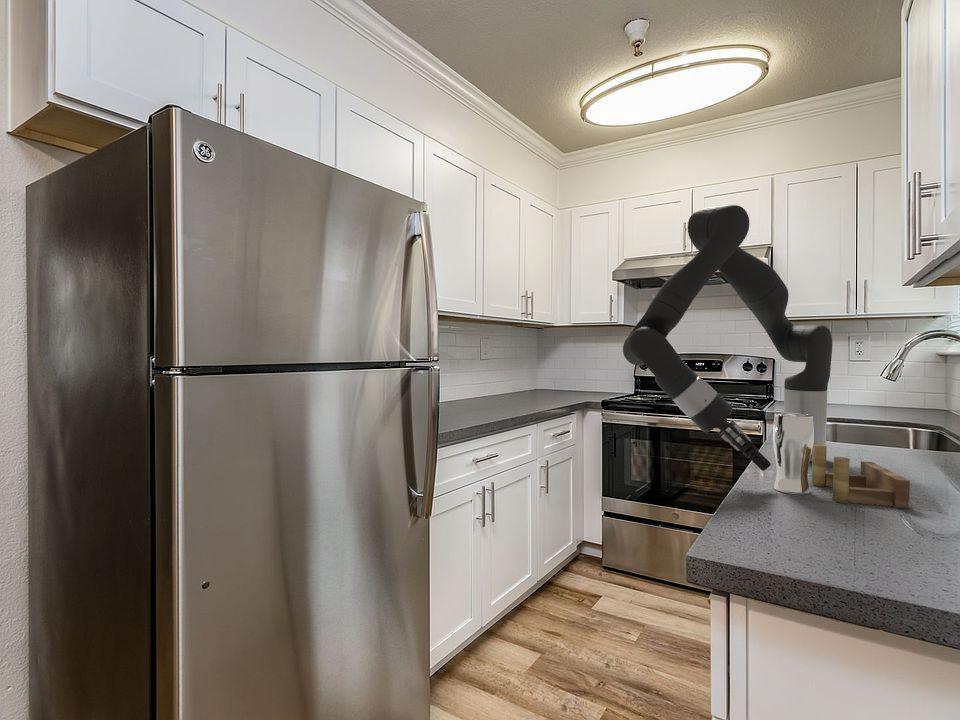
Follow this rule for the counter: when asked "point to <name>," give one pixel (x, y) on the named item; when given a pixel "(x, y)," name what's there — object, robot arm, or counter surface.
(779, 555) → the counter surface
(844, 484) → the holder
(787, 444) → the silver metal cup
